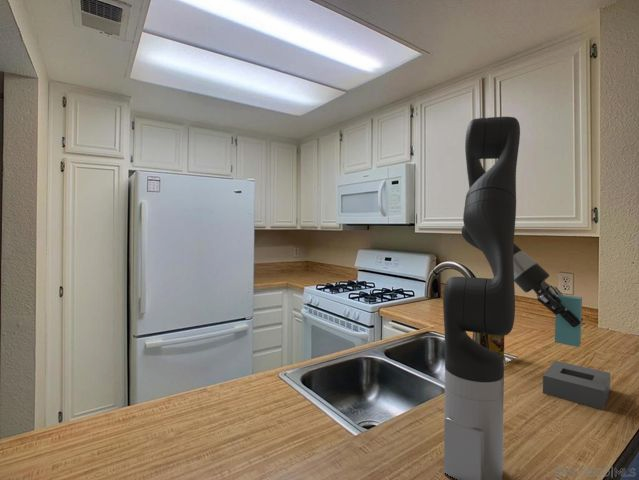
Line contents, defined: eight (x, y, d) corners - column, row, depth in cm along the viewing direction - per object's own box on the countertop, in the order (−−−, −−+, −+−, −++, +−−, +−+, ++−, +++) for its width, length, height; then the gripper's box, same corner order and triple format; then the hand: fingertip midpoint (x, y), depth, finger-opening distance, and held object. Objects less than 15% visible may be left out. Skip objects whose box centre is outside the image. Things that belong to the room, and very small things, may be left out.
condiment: (505, 363, 106) (505, 325, 106) (475, 358, 110) (475, 321, 110) (505, 355, 112) (506, 319, 112) (477, 351, 116) (477, 316, 116)
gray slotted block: (604, 410, 78) (604, 391, 78) (542, 392, 86) (543, 375, 86) (610, 390, 88) (610, 372, 88) (554, 376, 96) (554, 360, 96)
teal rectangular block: (578, 347, 84) (580, 299, 84) (554, 342, 88) (556, 296, 87) (580, 344, 86) (582, 297, 86) (557, 339, 90) (558, 294, 89)
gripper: (529, 264, 86) (588, 321, 78) (541, 260, 96) (595, 310, 88) (505, 282, 90) (560, 338, 82) (520, 277, 100) (570, 326, 92)
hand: (578, 323), depth 85 cm, fingers closed on teal rectangular block, 3 cm apart
